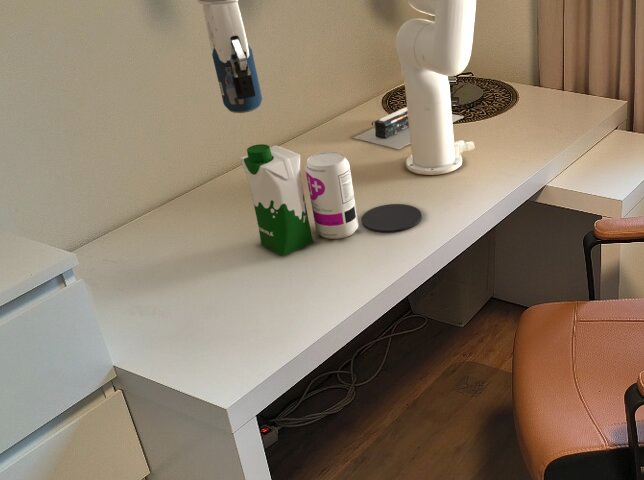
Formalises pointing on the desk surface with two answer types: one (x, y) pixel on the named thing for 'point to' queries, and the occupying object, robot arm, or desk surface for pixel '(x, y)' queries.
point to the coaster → (391, 218)
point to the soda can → (228, 88)
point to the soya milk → (278, 197)
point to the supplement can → (331, 195)
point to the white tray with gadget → (392, 130)
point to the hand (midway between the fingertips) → (240, 90)
